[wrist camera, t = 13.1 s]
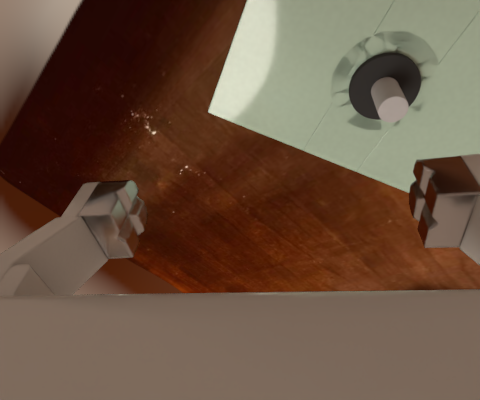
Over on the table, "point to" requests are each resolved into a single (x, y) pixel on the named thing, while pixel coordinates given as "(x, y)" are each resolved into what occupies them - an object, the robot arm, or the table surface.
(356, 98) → the stopper
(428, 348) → the robot arm
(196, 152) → the table surface
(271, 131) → the drain plate
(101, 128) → the table surface
